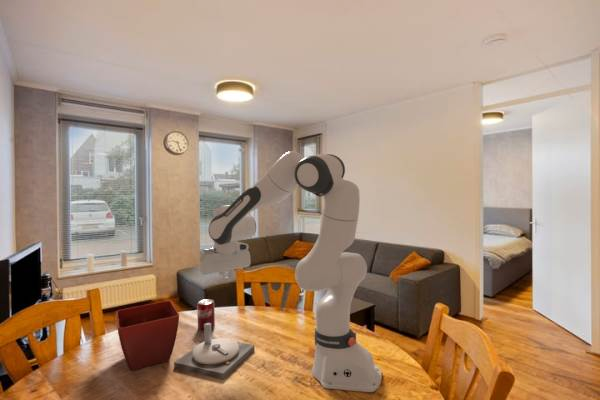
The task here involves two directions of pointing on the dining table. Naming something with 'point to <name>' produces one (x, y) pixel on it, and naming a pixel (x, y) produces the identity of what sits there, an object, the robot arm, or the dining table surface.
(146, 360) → the plant pot
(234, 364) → the dial base
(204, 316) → the soda can
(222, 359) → the dial
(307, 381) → the dining table surface
